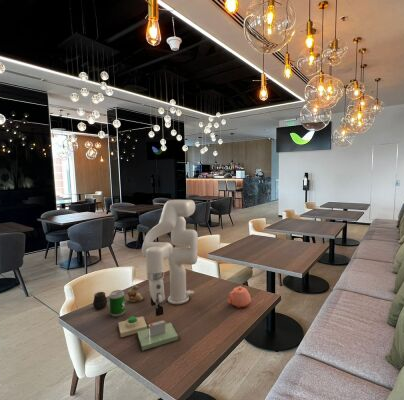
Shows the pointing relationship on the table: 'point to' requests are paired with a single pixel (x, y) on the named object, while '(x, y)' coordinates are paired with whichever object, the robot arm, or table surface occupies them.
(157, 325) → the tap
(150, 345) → the panel
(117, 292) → the soda can
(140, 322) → the button box
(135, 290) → the chocolate bunny
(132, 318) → the button
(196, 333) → the table surface
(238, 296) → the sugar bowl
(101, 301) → the mate gourd
